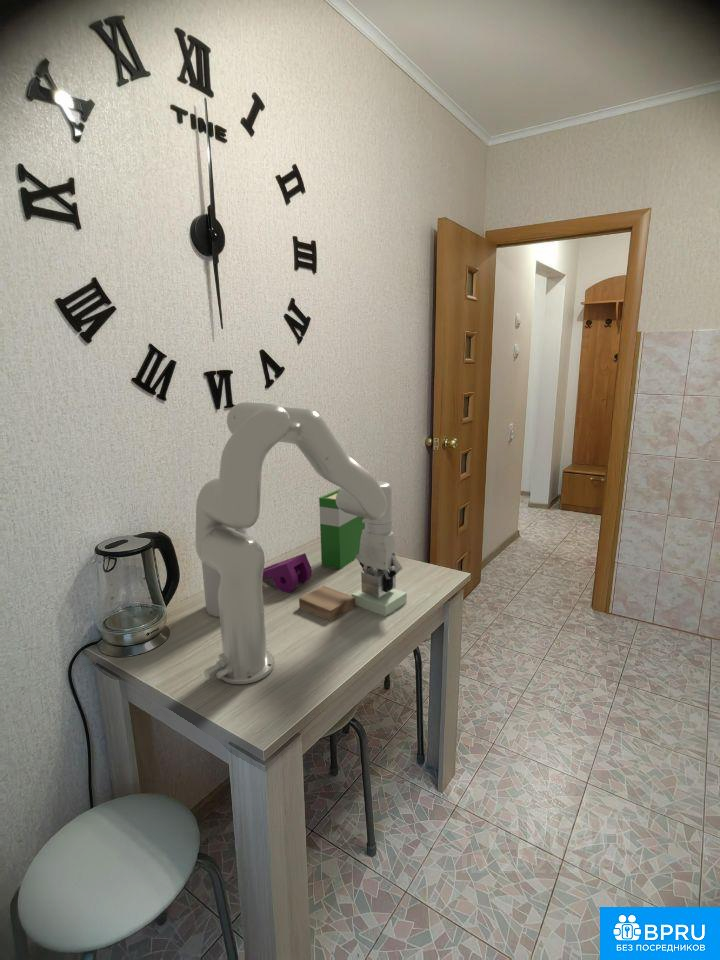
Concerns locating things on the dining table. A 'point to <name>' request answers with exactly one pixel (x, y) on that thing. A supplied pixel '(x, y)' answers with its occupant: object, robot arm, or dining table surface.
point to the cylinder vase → (213, 585)
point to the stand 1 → (327, 603)
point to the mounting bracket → (289, 572)
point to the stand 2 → (381, 601)
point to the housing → (374, 582)
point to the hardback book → (338, 533)
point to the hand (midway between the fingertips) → (378, 586)
